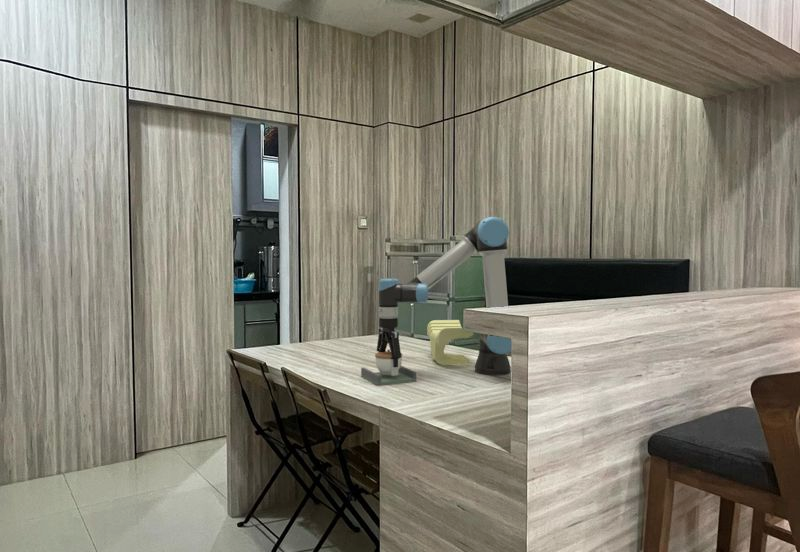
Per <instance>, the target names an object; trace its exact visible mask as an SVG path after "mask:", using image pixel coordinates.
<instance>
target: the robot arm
mask: <svg viewBox="0 0 800 552" xmlns="http://www.w3.org/2000/svg"><path fill="white" fill-rule="evenodd" d="M509 234H510V231H509V227H508V225H507V223H506V222H505V220H503V219H502V218H500V217H498V216H497V217H496V216H488V217H485V218H483V219H480V220H479V221H478V222H477V223H475V225H474V226H472V228H471V229H470V230H468V232H466V233H465V234H464V235H463V236H462V239H461V240H460V241H459V242H458V243H457V244H456V245H455V244H454V246H453V247H451V248H450V249H449V250H448V251H446V253H444V254H443V255H441V256H440V257H439V258H438V259H436V260H435V261H434V262H433V263H431V264H430V265H429V266H428V267H426V268H425V269H424V270H422V271H421V272H420V273H419V274H418V275H416V276H415V277H414V278H412V279H411V280H410V281H408V282H406V283H399V280H398V279H397V278H382V279H379V282H378V304H379V305H378V310H377V311H378V316H379V319H378V327H379V329H378V337H377V345H376V352H377V353H379V352H387V351H386V350H387V346H389V350H390V352H391V355H392V357H391V376H395V375H398V359H399V358H401V353H402V352H401V346H400V339H399V338H400V337H399V336H400V332H395V330H396V329H395V328H398V327H399V318H398V316H399V305H398V304H399V303H418V304H421V303H427V302H428V300H429V289H431V288H432V287H433V286H435V285H436V284H437V283H438V282H440V281H441V280H442V279H444V278H445V277H446V276H447V275H449V274H450V273H451V272H453V271H454V270H455V269H456V268H457V267H459V266H461V264H463V263H464V262H465V261H467V260H469V258H470V257H472V256H473V255H478V254H479V255H480V256H481V257H482V259H481V260H482V270H483V282H484V284H483V285H484V294H485V306H486V308H490V307H504V306H508V307H509V300H508V290H507V289H508V288H507V275H506V265H505V264H506V263H505V254H506V252H507V251H508V238H509ZM478 334H479V333H478ZM510 352H512V351H511V340H510V339H508V338H503V337H497V336H490V335H483V334H479V335H478V355H477V358H476V362H475V365H474V372H475V373H477V374H481V375H488V376H502V375H503V376H504V375H509V374H511V373H512V368H511V365H510V361H509V357H508V354H509V353H510ZM398 354H399V355H398ZM510 372H511V373H510Z"/></svg>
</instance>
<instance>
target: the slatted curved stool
mask: <svg viewBox="0 0 800 552" xmlns="http://www.w3.org/2000/svg"><path fill="white" fill-rule="evenodd" d="M463 328H464V327H462V324H461V322H460V320H459V319H442V320H441V319H435V320H431V321H430V322H429V323H428V324H427V329H426V332H427V333H426V335H427V336H429V341H430V342H429V343H430V347H429V348H430V355H431V357H432V358H433V360H435V362H436V363H437V364H439V365H442V366H444V365H445V366H447V365H448V366H449V365H470V359H469V358H468V357H466V356H465V355H463V354H462V355H460V354H459V355H455V354H447V353H445V347H446V346H449V345H450V341H452V340H453V341H454V340H457V339H467V338H468V339H469V338H470V337H472V336H474V335H475V332H474V333H472V332H468V331H465V330H464V329H463Z"/></svg>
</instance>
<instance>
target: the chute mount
mask: <svg viewBox="0 0 800 552" xmlns="http://www.w3.org/2000/svg"><path fill="white" fill-rule="evenodd" d="M360 369H361V371H360V372H361V373H360V376H361V377H360V378H362V379H364V380H365V381H368V382H371V383H372V384H373V385H376V386H377V387H379V386H380V387H381V386H389V385H398V384H406V383H415V382H417V371H415V370H412V369H410V368H407V367H405V366H402V365H401V367H400V369H399V370H398V375H395V376H391V375H385V374H381V372H380V371H377V372H374V371H372V370H369V369H368V368H366V367H361V368H360Z"/></svg>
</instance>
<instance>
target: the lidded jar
mask: <svg viewBox="0 0 800 552" xmlns="http://www.w3.org/2000/svg"><path fill="white" fill-rule="evenodd" d="M386 350H387V351H386V352H379V353H378V352H376V353H375V354H374V355H375V356H374V358H375V365H376V368H377V370H378V372H381V374H385V375H391V357H392V355H391V351H390V349H386ZM398 355H399V354H398ZM402 360H403V354H402V352H401V358H399V359H398V370H399V369H400V367H401V366H402V362H403V361H402Z"/></svg>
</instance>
